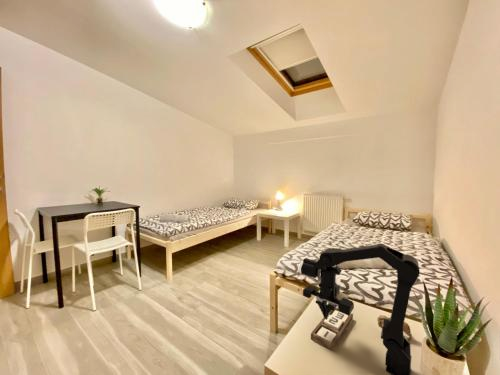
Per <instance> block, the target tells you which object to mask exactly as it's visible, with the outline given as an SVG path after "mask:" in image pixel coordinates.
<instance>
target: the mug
mask: <svg viewBox="0 0 500 375" xmlns="http://www.w3.org/2000/svg"><path fill="white" fill-rule="evenodd" d="M335 298H338V300H340V301H341V300H342V299H343V298H345V299H348V300H349V296H348V294H346V293H343V292H341V291H339V294H338V293H337V297H336V296H335Z"/></svg>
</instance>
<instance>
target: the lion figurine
mask: <svg viewBox="0 0 500 375" xmlns="http://www.w3.org/2000/svg"><path fill="white" fill-rule="evenodd" d="M384 318H385V319H387V320H389V319H390V317H388V316H386V315H381V314H380V315H379V316H378V317H377V320H376V321H377V324H378V327H379V328H381V329H382V327H383V323H384ZM403 333H404V334H406V335H407V336H408V337H407V341H412V340H413V338H412V336H413V334H412V333H411V327H410V325H409V324H408V323H407V322H406V321H404V325H403Z"/></svg>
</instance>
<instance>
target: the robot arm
mask: <svg viewBox="0 0 500 375" xmlns="http://www.w3.org/2000/svg"><path fill="white" fill-rule="evenodd" d="M378 258H379V259H380V260H382V261H384V262H385V263H386V264H387V265H388V266H389V267H391V268H392V269H394V270H395V271H396V274H397V276H396V278H397V279H396V280H397V283H396V288H395V293H394V294H395V295H394V299H393V303H392V309H391V314H390V316H389V318H390V319H389V320H387V319H385V318H384V323H383V327H382V328H381V333H380V339H382V345H383V346H384V347H385V348H386V352H385V358H384V359H385V363H384V365H385V366H386V367H385V371H386V372H387V373H388V374H390V375H411V374H412V355H411V354H412V352H411V343H410V342H409V340H408V339H406V337H405V336H404V331H403V325H404V322H405V319H406V314H407V310H408V305H409V300H410V295H411V291H412V288H413V286H414V285H415V284H416V283H417V279H418V278H419V276H420V264H419V262H418V260H417V259H416V258H415V257H414V256H413V255H411V254H404V253H403V252H401V251H399V250H396V249H395V248H391V247H389V246H388V245H385V244H384V243H376V244H372V245H366V246H358V247H352V248H345V249H342V248H332V247H329V248H325V250H324V251H322V253H320V255H319V258H318V259H317V260H313V259H310V258H307V257H305V258H304V259H303V260H302V264H301V268H300V273H301V275H304V276H306V277H310V278H314V279H316V278H317V277H319V278H320V279H319V283H318V287H319V291H318V287H316V286H313V285H310V284H308V285H307V286H305V287H304V288H303V290H302V297H304V298H308V299H311V298H312V296H315V298H316V301H315V304H317V305H318V307H319V309H320V311H321V313H322V315H323V318H325V319H326V320H327V319H328V317H329V314H330V312H331V310H334V309H335V308H336V307H337V308H338V309H339V311H340V312H342V313H344V314H347V315H350V313H351V314H352V312H353V310H354V309H355V308H354V307H355V303H354V302H353V301H352V300H350V299H349V298H348V299H345V298H343V299H342V300H341V301H340V300H338V298H335V296H336V297H337V293H338V294H339V291H340V289H341V285H339V284H337V282H336V280H337V278H336V277H337V275H340V274H341V273H342V269H341V268H340V267H339V265H340V264H342V263H345V262H352V261H353V262H354V261H362V260H369V259H378ZM340 292H341V291H340Z"/></svg>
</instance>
